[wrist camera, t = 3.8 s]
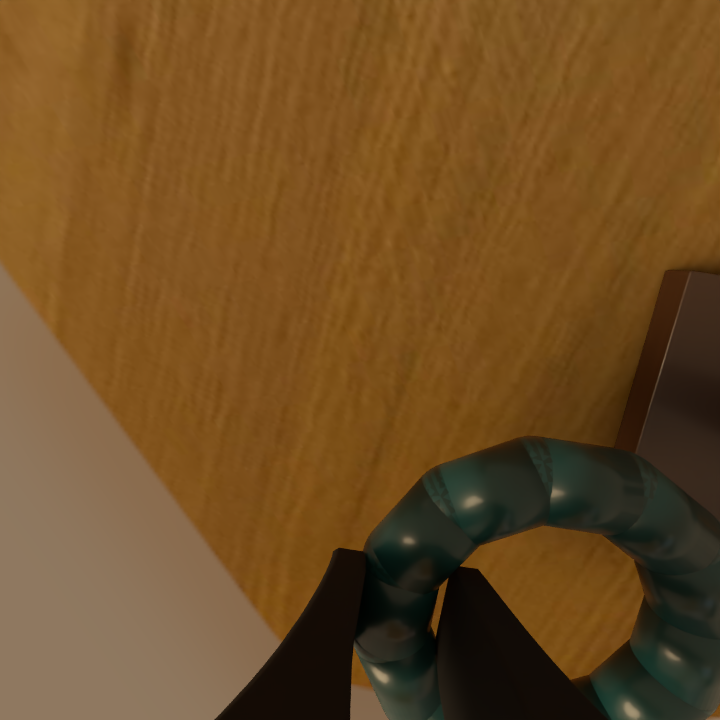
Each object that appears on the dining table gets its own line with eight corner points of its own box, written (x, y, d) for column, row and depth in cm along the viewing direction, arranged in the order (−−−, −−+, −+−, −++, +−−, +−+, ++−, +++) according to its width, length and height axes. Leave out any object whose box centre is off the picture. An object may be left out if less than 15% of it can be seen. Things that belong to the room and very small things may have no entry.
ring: (646, 747, 12) (694, 833, 10) (335, 699, 12) (327, 774, 10) (750, 458, 10) (830, 498, 8) (384, 402, 10) (387, 431, 8)
